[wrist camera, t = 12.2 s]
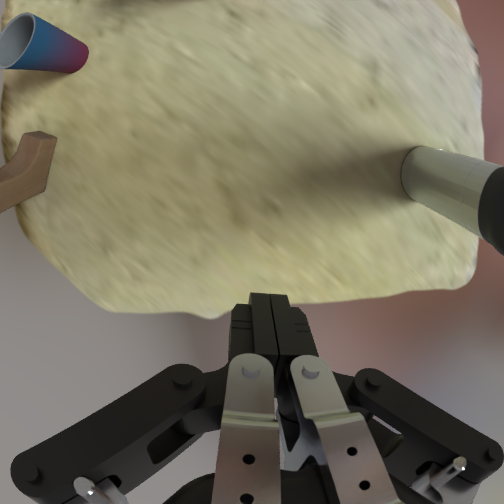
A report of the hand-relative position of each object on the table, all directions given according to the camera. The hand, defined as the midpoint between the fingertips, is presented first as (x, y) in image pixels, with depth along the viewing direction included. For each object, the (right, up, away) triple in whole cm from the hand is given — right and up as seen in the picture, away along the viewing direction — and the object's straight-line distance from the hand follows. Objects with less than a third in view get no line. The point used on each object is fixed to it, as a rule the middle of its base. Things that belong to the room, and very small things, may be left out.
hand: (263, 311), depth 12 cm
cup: (-26, +31, +16) cm, 43 cm away
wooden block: (-33, +17, +22) cm, 43 cm away
